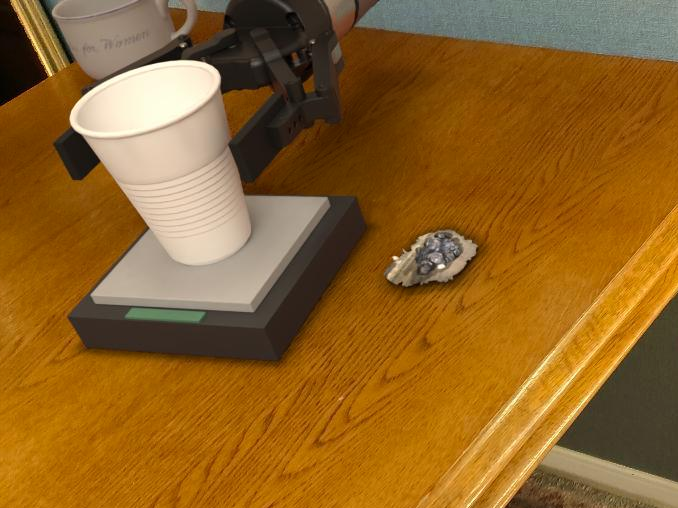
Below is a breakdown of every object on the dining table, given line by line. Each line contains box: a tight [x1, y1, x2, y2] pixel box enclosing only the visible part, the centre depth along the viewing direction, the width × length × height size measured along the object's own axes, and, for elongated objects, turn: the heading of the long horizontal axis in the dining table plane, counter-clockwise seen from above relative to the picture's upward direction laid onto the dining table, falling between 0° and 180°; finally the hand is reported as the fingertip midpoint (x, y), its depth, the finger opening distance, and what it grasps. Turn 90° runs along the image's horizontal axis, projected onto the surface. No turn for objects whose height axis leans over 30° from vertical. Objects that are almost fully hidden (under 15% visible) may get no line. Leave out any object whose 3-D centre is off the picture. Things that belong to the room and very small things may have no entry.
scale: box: [66, 193, 367, 362], centre depth 74 cm, size 16×16×4 cm
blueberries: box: [382, 229, 479, 288], centre depth 72 cm, size 7×8×2 cm
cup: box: [69, 60, 251, 266], centre depth 68 cm, size 10×10×11 cm
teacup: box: [51, 0, 199, 81], centre depth 101 cm, size 14×11×8 cm
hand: (150, 163), depth 66 cm, fingers open, 13 cm apart
